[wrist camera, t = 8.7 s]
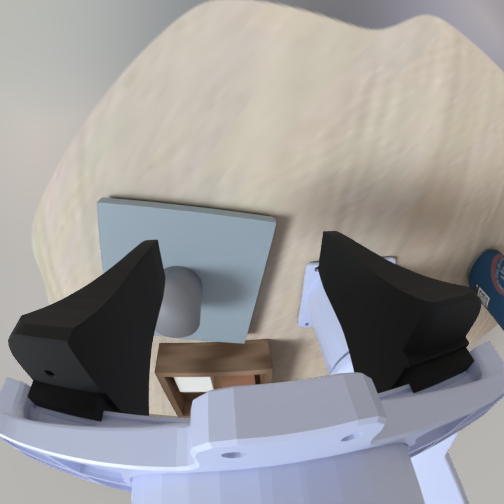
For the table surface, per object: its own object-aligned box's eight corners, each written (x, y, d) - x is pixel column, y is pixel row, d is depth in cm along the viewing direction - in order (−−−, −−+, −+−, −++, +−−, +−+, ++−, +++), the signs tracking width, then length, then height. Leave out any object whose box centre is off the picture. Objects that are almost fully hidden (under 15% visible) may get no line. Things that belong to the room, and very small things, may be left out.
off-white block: (209, 353, 29) (209, 374, 27) (213, 372, 31) (213, 391, 29) (174, 354, 29) (172, 374, 26) (181, 373, 31) (180, 391, 28)
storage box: (267, 339, 29) (273, 368, 26) (264, 391, 35) (267, 415, 32) (159, 343, 28) (154, 372, 25) (180, 394, 34) (178, 418, 31)
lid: (272, 212, 22) (287, 251, 17) (243, 330, 28) (247, 375, 23) (105, 193, 19) (73, 226, 14) (118, 316, 26) (103, 359, 21)
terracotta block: (254, 374, 32) (256, 393, 30) (254, 389, 34) (256, 406, 32) (222, 376, 32) (222, 395, 29) (224, 391, 34) (225, 408, 31)
